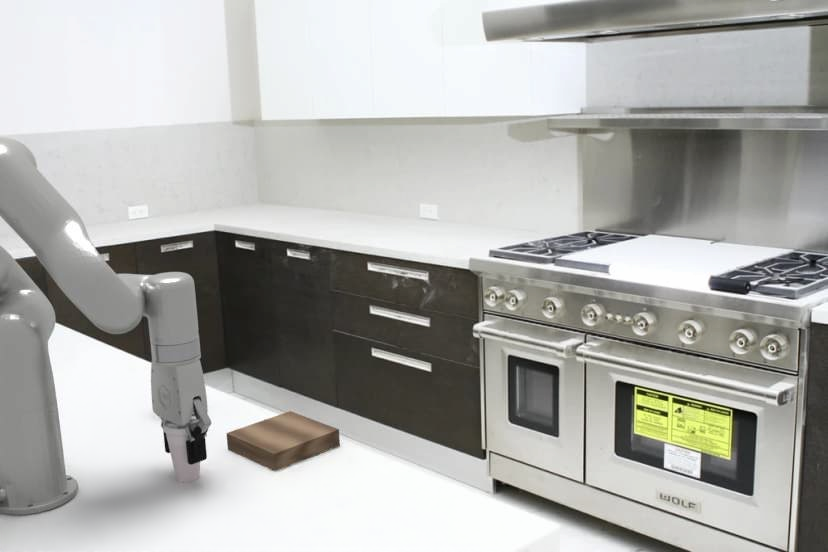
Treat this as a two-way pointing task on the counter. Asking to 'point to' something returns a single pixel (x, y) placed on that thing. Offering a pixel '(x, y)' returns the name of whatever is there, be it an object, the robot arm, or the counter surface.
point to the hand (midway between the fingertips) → (185, 455)
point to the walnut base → (283, 440)
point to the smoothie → (181, 451)
